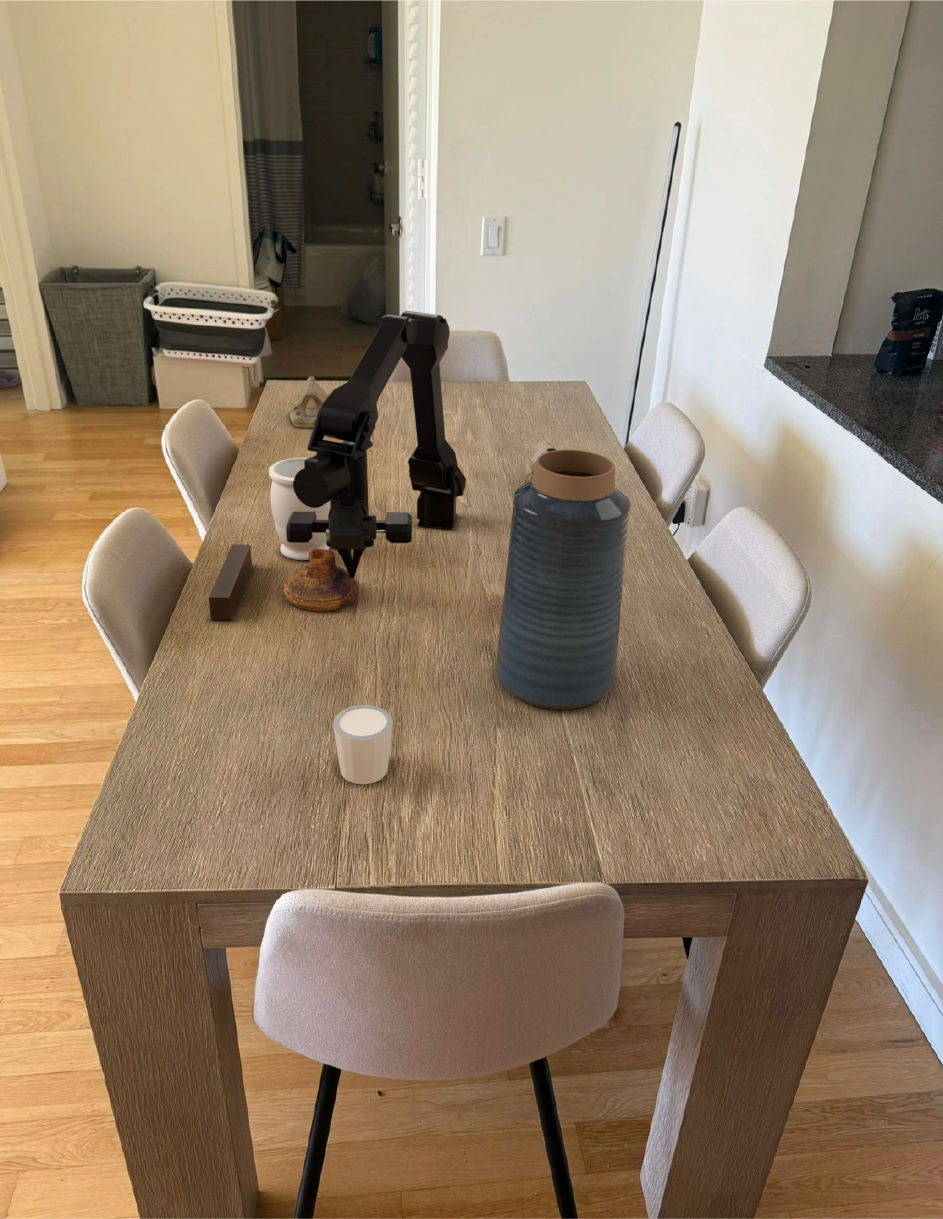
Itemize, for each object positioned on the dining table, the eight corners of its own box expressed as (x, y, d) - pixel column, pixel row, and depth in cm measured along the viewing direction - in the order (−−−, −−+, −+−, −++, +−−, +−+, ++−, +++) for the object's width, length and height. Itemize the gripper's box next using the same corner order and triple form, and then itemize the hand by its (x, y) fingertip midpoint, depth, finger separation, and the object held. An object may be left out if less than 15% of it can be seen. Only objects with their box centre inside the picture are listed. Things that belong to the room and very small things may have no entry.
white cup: (336, 751, 115) (334, 704, 112) (392, 750, 116) (392, 703, 112) (333, 788, 109) (331, 740, 106) (393, 787, 110) (393, 738, 106)
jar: (323, 567, 157) (319, 483, 150) (264, 559, 159) (258, 476, 151) (343, 541, 166) (341, 460, 159) (287, 534, 168) (282, 453, 160)
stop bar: (252, 566, 157) (250, 544, 155) (231, 621, 141) (229, 597, 139) (234, 566, 157) (232, 544, 155) (211, 620, 141) (208, 597, 139)
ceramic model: (290, 409, 229) (288, 368, 224) (337, 409, 230) (336, 368, 225) (287, 428, 217) (285, 385, 212) (336, 428, 218) (335, 386, 213)
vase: (534, 725, 121) (553, 497, 106) (474, 662, 134) (484, 449, 118) (637, 695, 128) (670, 476, 112) (572, 637, 141) (593, 433, 125)
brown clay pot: (348, 616, 143) (347, 574, 140) (272, 608, 145) (269, 565, 141) (367, 581, 154) (367, 540, 150) (296, 573, 155) (294, 533, 151)
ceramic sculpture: (574, 435, 193) (583, 465, 181) (570, 473, 198) (579, 506, 185) (522, 434, 193) (528, 464, 180) (519, 473, 198) (525, 505, 185)
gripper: (277, 504, 133) (285, 601, 141) (410, 505, 134) (411, 602, 141) (287, 475, 143) (294, 567, 150) (411, 476, 143) (412, 568, 151)
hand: (352, 576), depth 148 cm, fingers closed
